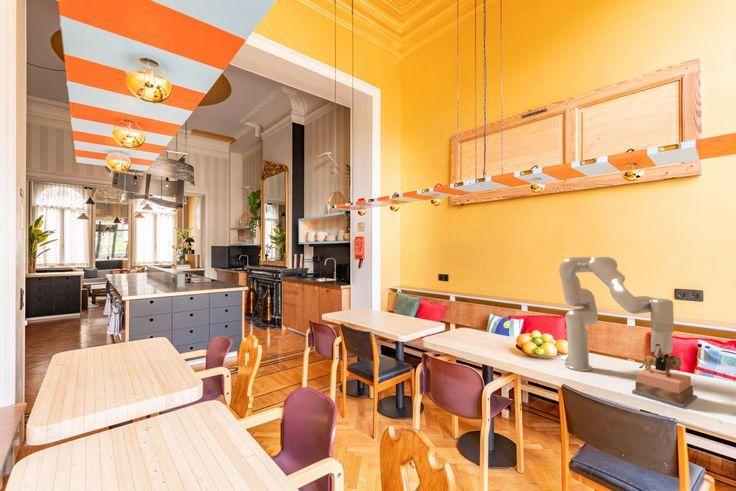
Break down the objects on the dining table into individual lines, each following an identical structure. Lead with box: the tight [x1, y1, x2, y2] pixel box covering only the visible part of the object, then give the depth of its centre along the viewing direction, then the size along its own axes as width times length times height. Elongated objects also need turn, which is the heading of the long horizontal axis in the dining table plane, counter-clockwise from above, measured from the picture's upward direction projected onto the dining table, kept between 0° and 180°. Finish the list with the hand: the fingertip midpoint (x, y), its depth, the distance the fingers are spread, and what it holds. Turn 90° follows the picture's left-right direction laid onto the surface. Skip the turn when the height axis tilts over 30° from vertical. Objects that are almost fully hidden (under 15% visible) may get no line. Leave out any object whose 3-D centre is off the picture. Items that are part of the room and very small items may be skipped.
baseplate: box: [631, 388, 698, 409], centre depth 144 cm, size 17×17×1 cm
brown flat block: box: [635, 381, 694, 404], centre depth 144 cm, size 15×15×4 cm
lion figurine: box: [638, 355, 683, 377], centre depth 146 cm, size 15×5×9 cm, turn 36°
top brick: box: [636, 366, 692, 393], centre depth 144 cm, size 14×14×4 cm
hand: (663, 368), depth 145 cm, fingers open, 5 cm apart
